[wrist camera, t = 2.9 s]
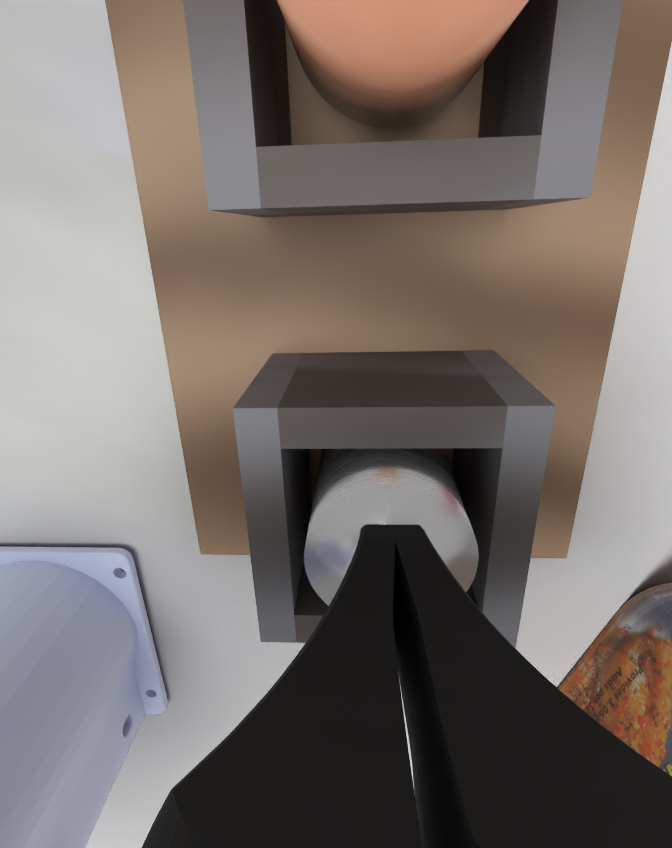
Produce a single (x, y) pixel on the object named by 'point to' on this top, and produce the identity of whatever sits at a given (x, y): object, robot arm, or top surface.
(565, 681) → the tin
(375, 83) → the terracotta plunger
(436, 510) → the steel plunger
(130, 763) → the top surface
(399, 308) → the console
